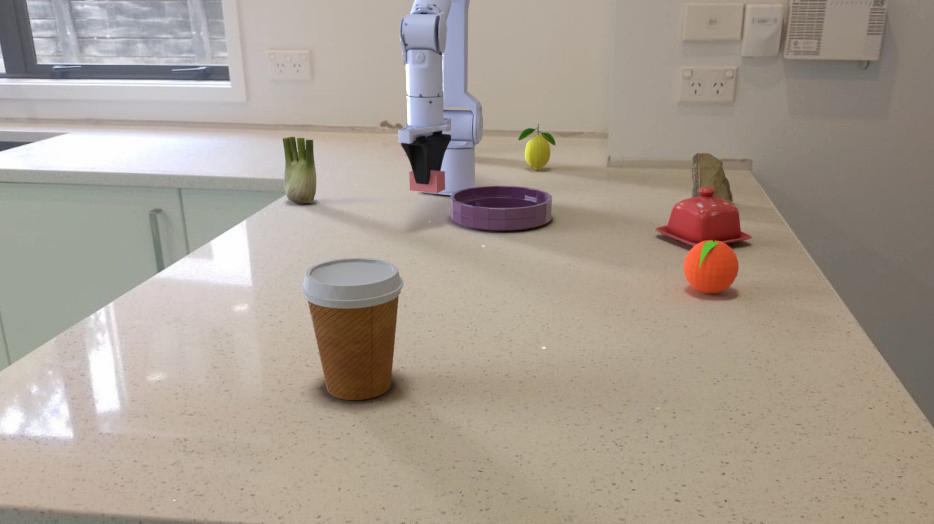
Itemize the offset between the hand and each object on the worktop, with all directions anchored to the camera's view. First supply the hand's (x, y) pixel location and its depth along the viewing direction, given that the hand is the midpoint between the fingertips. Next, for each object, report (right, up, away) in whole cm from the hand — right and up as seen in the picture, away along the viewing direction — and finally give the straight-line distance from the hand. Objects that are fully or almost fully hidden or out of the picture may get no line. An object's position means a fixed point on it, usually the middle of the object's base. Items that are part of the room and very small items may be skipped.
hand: (427, 181), depth 137 cm
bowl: (+12, -5, +7) cm, 15 cm away
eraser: (0, -1, +1) cm, 1 cm away
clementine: (+39, -20, -27) cm, 52 cm away
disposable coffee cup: (-2, -30, -54) cm, 62 cm away
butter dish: (+44, -10, -4) cm, 45 cm away
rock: (+51, -2, +16) cm, 53 cm away
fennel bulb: (-25, -1, +17) cm, 30 cm away
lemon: (+20, +11, +46) cm, 51 cm away
